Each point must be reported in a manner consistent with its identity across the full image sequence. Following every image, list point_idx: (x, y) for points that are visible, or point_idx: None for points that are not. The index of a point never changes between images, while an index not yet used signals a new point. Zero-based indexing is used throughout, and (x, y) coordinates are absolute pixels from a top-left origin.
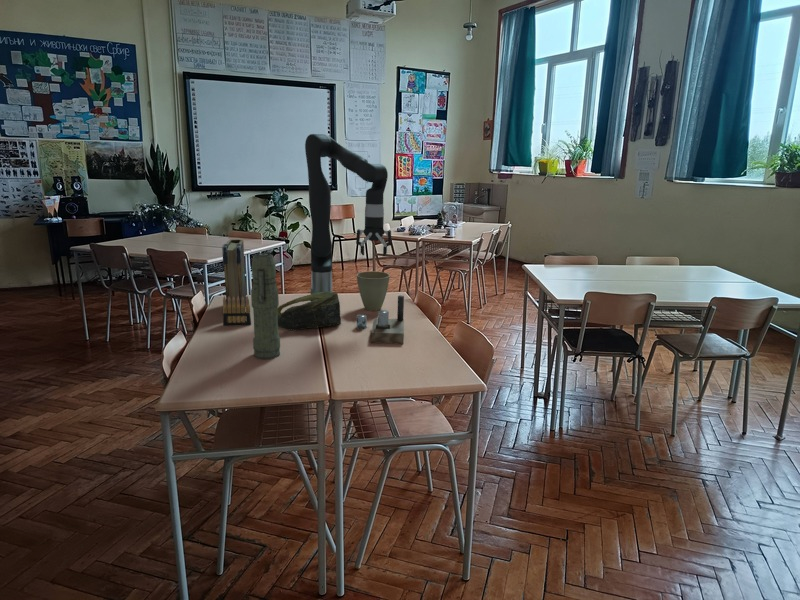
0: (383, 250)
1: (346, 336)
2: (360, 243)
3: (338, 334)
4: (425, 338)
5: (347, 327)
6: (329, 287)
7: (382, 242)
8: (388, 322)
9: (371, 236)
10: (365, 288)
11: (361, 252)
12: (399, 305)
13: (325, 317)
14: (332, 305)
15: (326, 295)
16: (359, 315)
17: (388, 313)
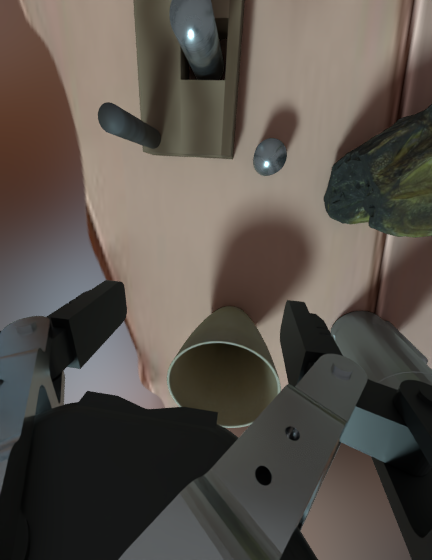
0: (90, 299)
1: (320, 57)
2: (367, 400)
3: (344, 79)
4: (90, 59)
5: (307, 159)
6: (365, 357)
7: (26, 354)
8: (186, 109)
9: (164, 507)
10: (250, 331)
11: (313, 320)
12: (132, 115)
13: (402, 121)
14: (395, 132)
15: (427, 190)
16: (276, 160)
17: (171, 12)
